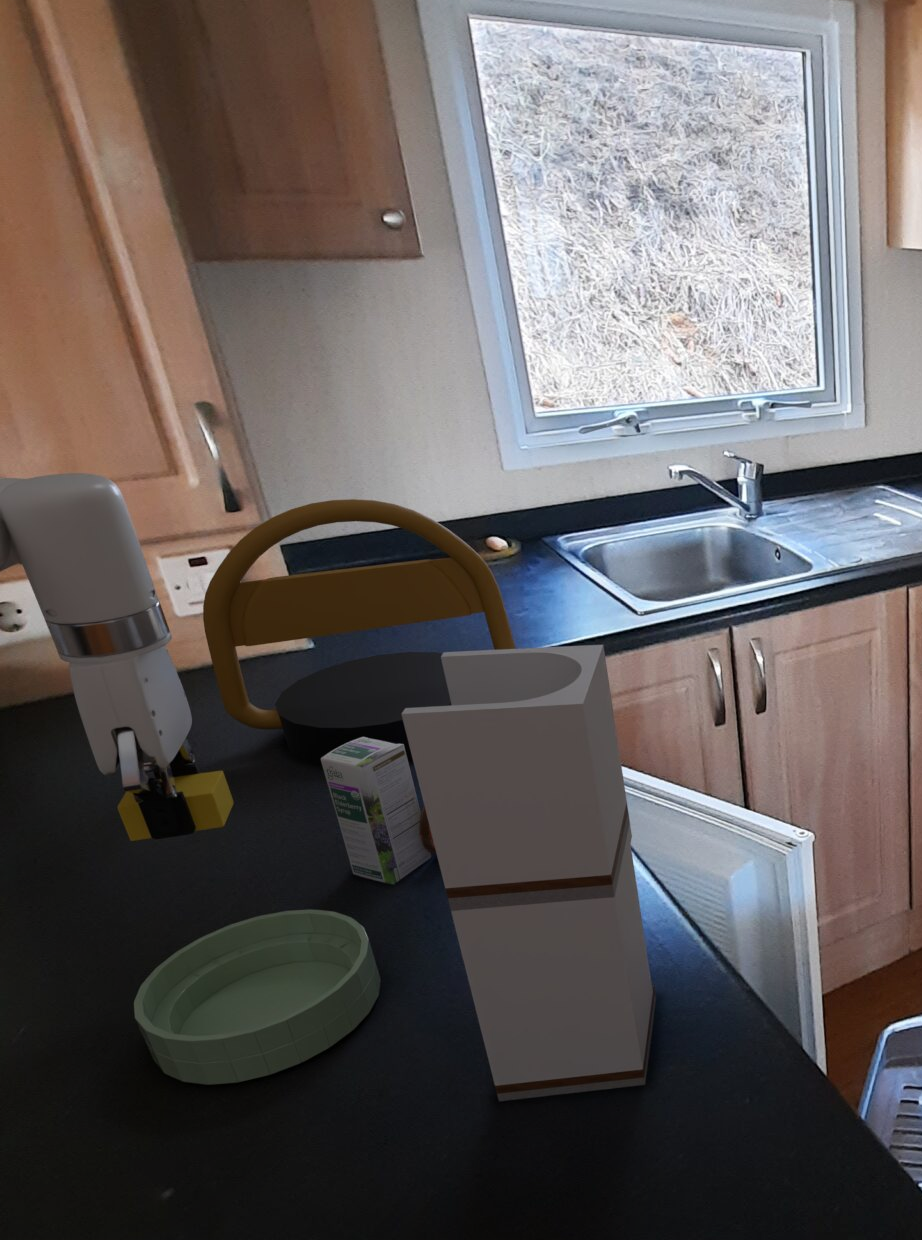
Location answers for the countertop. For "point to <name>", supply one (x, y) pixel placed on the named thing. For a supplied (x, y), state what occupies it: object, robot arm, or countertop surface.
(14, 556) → the robot arm
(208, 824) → the sponge
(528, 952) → the striped white pedestal
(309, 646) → the countertop surface
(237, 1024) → the bowl
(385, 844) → the syrup box
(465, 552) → the chair
